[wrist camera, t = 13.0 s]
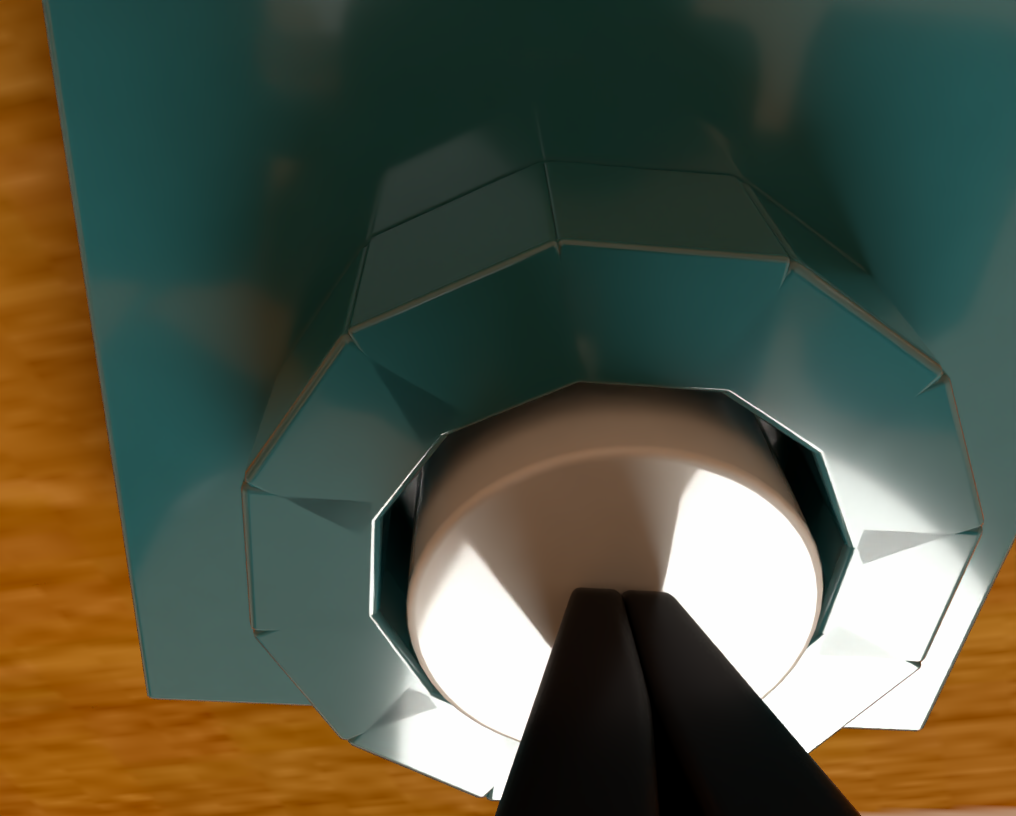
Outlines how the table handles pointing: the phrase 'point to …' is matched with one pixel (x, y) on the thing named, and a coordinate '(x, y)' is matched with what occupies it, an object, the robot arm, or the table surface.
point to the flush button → (604, 538)
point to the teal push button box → (537, 308)
